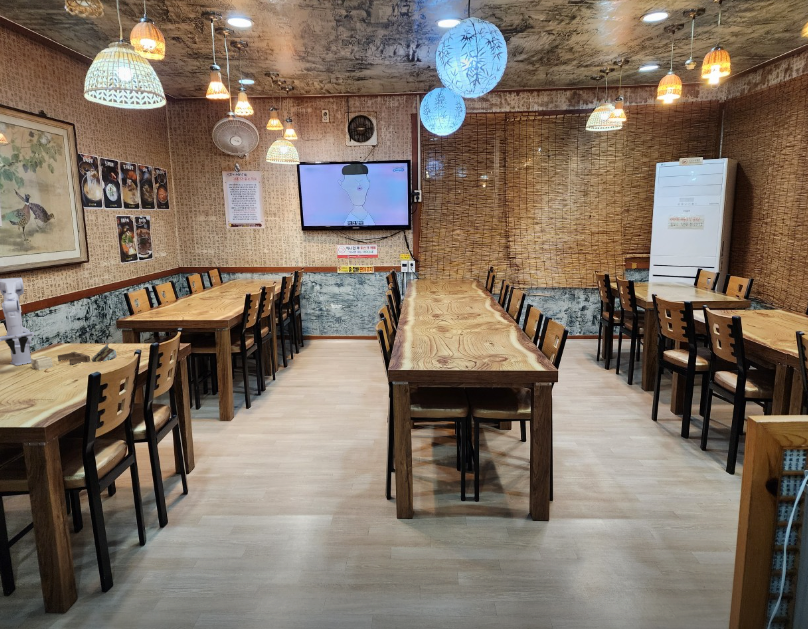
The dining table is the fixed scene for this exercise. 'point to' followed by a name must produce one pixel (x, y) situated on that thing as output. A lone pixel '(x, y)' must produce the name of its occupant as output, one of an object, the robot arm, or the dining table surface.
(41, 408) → the dining table surface
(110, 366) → the dining table surface
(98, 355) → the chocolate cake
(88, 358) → the walnut stop
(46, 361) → the maple block
